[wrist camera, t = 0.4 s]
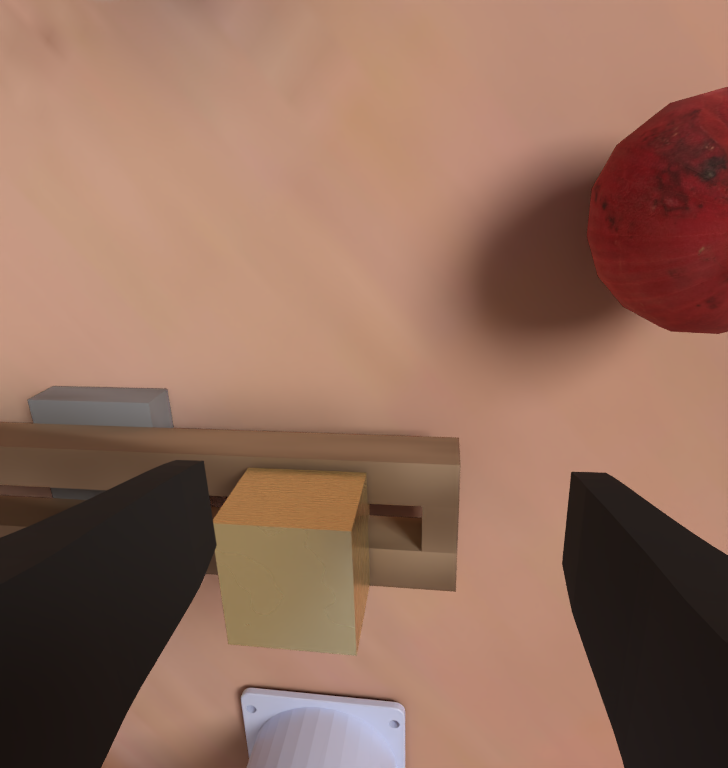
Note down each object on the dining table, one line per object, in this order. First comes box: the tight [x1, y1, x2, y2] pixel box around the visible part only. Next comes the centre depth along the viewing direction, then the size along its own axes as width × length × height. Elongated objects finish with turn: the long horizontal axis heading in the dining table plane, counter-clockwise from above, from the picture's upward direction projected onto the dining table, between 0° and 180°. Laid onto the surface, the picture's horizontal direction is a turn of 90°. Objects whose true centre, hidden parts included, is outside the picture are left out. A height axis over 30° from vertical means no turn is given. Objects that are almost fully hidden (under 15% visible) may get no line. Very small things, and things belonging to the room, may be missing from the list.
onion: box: [587, 87, 728, 334], centre depth 14 cm, size 6×6×8 cm
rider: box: [213, 467, 370, 656], centre depth 18 cm, size 4×4×5 cm
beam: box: [0, 386, 460, 592], centre depth 21 cm, size 7×28×6 cm, turn 92°
